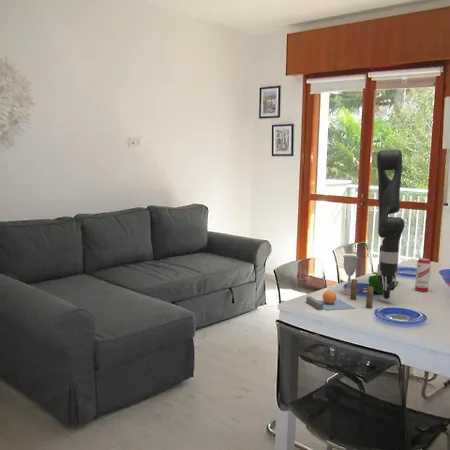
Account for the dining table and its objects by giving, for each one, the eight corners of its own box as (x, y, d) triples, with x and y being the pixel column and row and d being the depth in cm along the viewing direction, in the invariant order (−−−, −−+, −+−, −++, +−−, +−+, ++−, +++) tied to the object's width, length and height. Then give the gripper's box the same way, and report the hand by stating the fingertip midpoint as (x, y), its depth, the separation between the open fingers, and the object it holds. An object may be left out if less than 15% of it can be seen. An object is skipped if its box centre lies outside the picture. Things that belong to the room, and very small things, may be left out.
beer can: (429, 292, 245) (432, 260, 243) (416, 291, 246) (418, 259, 244) (427, 289, 251) (429, 258, 249) (413, 288, 252) (416, 257, 250)
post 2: (364, 306, 218) (366, 286, 217) (369, 306, 219) (371, 286, 217) (368, 308, 215) (369, 288, 214) (373, 308, 216) (374, 287, 215)
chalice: (356, 292, 241) (359, 255, 239) (355, 295, 235) (358, 258, 233) (341, 290, 244) (343, 254, 241) (339, 294, 237) (342, 257, 235)
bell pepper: (386, 291, 245) (388, 271, 243) (384, 295, 237) (386, 275, 236) (369, 289, 248) (370, 269, 247) (366, 293, 241) (368, 272, 239)
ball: (330, 286, 223) (335, 298, 224) (318, 292, 222) (323, 304, 223) (335, 289, 217) (340, 301, 218) (323, 295, 217) (328, 307, 218)
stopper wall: (306, 302, 222) (306, 296, 222) (310, 301, 223) (310, 296, 222) (318, 310, 211) (318, 304, 210) (322, 309, 211) (323, 304, 211)
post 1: (349, 298, 230) (350, 279, 229) (354, 298, 231) (355, 279, 230) (352, 299, 228) (353, 280, 227) (357, 299, 229) (358, 280, 227)
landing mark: (311, 301, 224) (311, 300, 224) (339, 299, 228) (339, 299, 228) (326, 310, 211) (326, 309, 211) (355, 308, 215) (355, 308, 215)
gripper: (373, 258, 230) (370, 294, 232) (390, 264, 217) (387, 302, 219) (387, 257, 232) (384, 294, 234) (405, 263, 219) (402, 302, 222)
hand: (386, 298), depth 227 cm, fingers closed
